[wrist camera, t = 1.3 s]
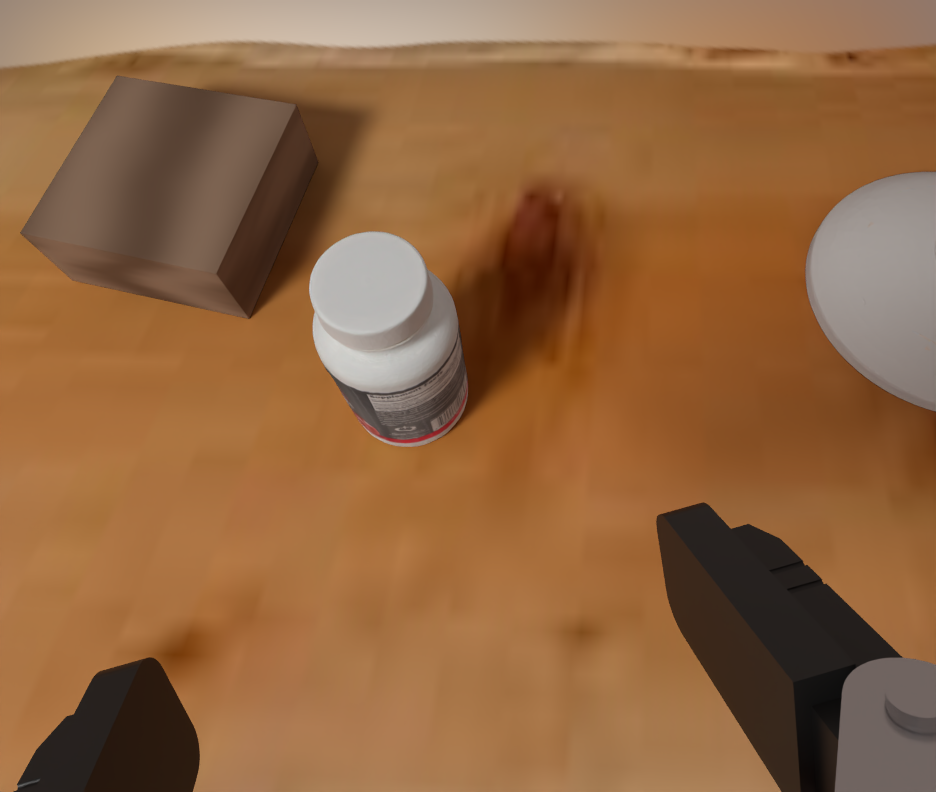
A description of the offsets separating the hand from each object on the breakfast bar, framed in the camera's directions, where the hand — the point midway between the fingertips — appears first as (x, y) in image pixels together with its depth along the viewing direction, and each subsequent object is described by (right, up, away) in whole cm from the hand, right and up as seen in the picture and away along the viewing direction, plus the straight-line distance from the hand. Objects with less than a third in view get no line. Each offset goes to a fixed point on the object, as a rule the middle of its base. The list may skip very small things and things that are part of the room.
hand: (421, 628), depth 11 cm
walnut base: (-14, +13, +25) cm, 31 cm away
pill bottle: (-2, +4, +21) cm, 21 cm away
